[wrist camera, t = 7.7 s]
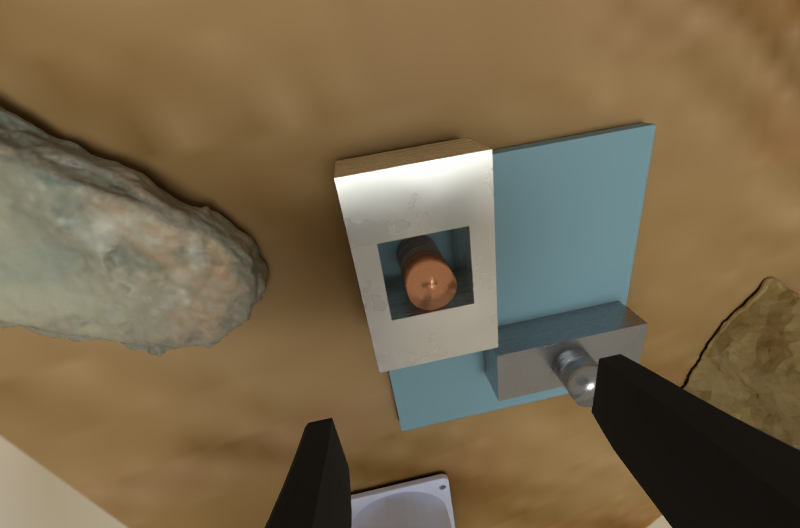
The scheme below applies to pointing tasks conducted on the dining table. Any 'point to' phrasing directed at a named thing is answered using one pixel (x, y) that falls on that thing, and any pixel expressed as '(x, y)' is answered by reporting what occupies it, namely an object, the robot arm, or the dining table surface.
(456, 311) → the silver block with hole
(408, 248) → the copper cylinder peg
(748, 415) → the rock
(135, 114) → the dining table surface
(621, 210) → the board
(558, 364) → the metal knob block
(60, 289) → the long grey stone
